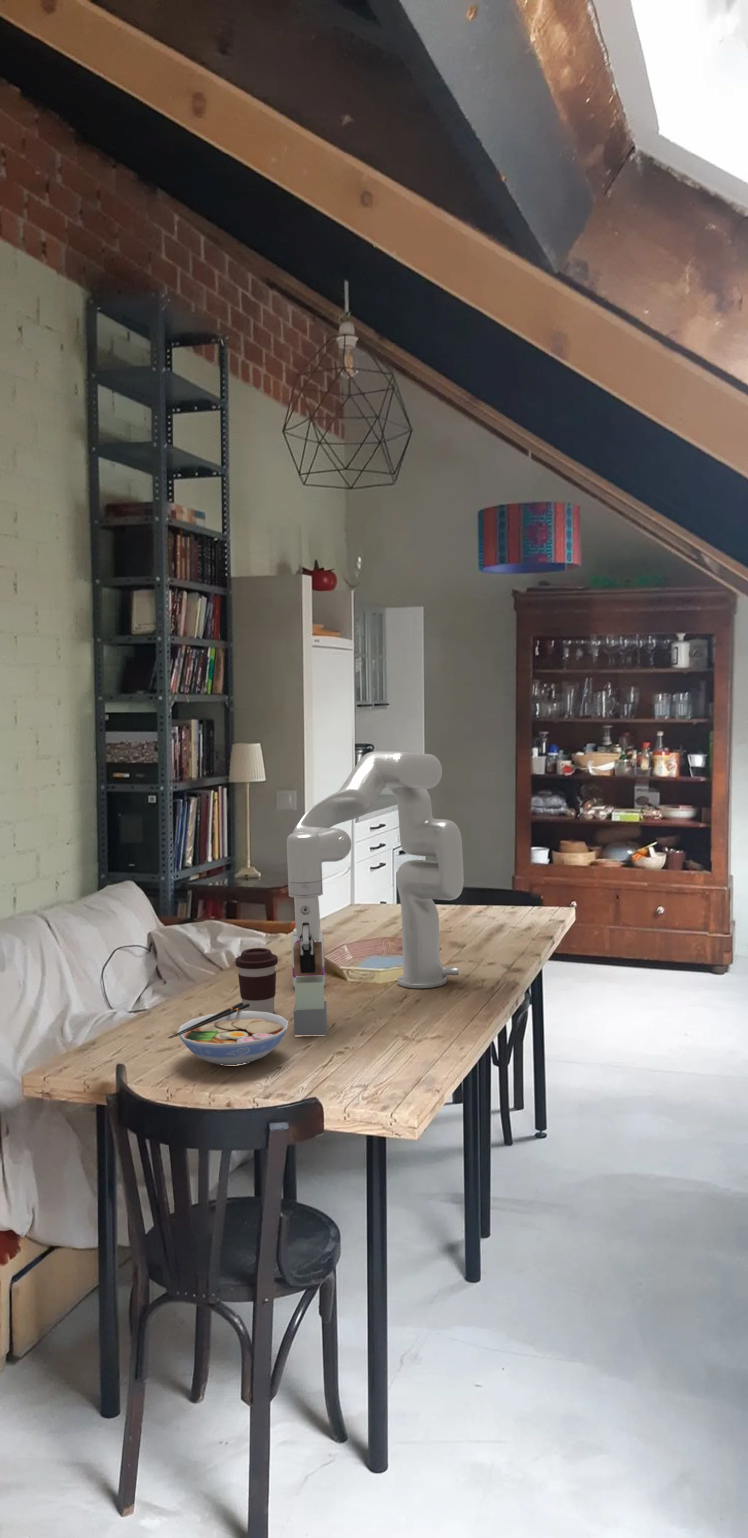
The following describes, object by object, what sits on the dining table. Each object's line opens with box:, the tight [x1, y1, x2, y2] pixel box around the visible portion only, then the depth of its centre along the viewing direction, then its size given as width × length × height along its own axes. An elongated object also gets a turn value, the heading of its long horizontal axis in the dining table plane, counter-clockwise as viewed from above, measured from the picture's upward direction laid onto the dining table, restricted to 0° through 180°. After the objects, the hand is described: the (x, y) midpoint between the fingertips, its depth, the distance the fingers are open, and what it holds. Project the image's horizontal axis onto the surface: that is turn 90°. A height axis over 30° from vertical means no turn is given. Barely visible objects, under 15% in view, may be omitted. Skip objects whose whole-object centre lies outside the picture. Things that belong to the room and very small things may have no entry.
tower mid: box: [294, 975, 325, 1010], centre depth 250 cm, size 6×6×6 cm
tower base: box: [293, 1000, 328, 1036], centre depth 250 cm, size 7×7×6 cm
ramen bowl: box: [167, 1002, 289, 1065], centre depth 232 cm, size 25×23×8 cm
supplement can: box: [290, 927, 326, 988], centre depth 288 cm, size 8×8×15 cm
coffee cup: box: [235, 947, 279, 1014], centre depth 266 cm, size 10×10×15 cm
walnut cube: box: [293, 942, 323, 976], centre depth 249 cm, size 6×6×6 cm
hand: (308, 968), depth 249 cm, fingers closed on walnut cube, 6 cm apart
